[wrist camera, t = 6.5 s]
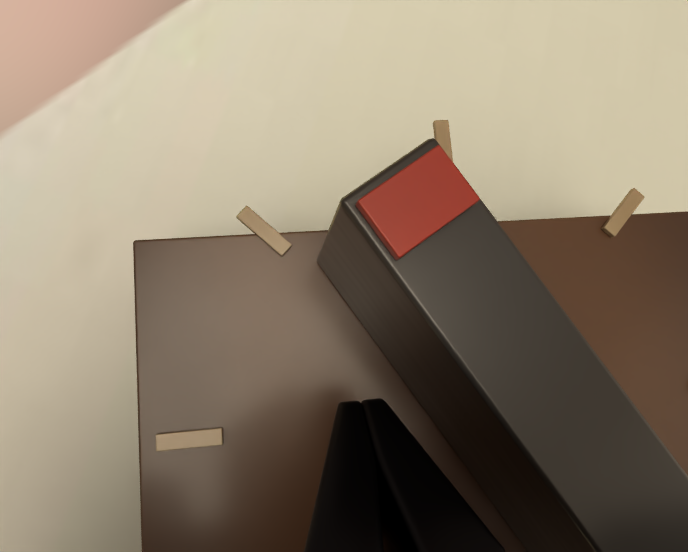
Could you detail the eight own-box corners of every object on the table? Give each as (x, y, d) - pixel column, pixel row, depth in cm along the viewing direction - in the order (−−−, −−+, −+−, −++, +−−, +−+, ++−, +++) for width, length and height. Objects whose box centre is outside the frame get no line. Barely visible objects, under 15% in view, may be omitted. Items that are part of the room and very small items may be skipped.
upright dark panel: (630, 563, 12) (878, 711, 7) (574, 617, 12) (792, 809, 7) (375, 217, 13) (439, 127, 8) (315, 260, 13) (339, 194, 7)
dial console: (599, 175, 19) (713, 112, 14) (665, 609, 17) (822, 713, 12) (171, 193, 18) (127, 128, 12) (190, 683, 16) (146, 842, 10)
